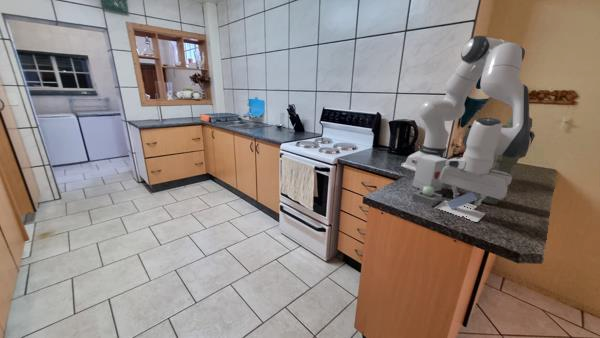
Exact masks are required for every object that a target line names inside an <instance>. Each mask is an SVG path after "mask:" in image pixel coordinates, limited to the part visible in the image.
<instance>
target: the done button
mask: <svg viewBox="0 0 600 338" xmlns="http://www.w3.org/2000/svg"><path fill="white" fill-rule="evenodd" d="M433 193H435V192H434V188H433V187H430V186H424V187H423V192H422V195H424V196H427V197H430V198H432V197H433Z"/></svg>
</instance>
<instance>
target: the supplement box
mask: <svg viewBox="0 0 600 338" xmlns="http://www.w3.org/2000/svg"><path fill="white" fill-rule="evenodd" d="M447 160H449V159H448V158H441V157H438V156H434V155H425V156H419V157H418V162H417V167H416V171H414V172H415V173H414V178H413V183H412V187H413V186H414V187H413V188H416V189H418V188H419V190H421V189H423V187H424V186H430V187H433V188H434V193H436V192H438V191H442V188H443V184H444V183H442V182H440V175H441V172H442V170H443V168H444V167H445V166H447V165H446V161H447Z"/></svg>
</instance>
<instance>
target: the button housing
mask: <svg viewBox="0 0 600 338" xmlns="http://www.w3.org/2000/svg"><path fill="white" fill-rule="evenodd" d="M422 192H423V189H419V190H417V191H415V192H414V193H413V194H412V199H414V200H416V201H419V202H421V203H420V204H422V203H424V204H423V205H425V204H427V205H430V206H433V207H435V206H436V205H437V203H438V204H440V203H441V201H442V196H443V194H439V193H437V192H434V193H433V197H432V198H430V197H427V196H424V195H422ZM412 199H411V200H412ZM414 200H413V201H414ZM416 201H415V202H416ZM419 202H418V203H419ZM435 204H436V205H435ZM427 205H426V206H427ZM430 206H429V207H430Z"/></svg>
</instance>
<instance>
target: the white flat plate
mask: <svg viewBox="0 0 600 338" xmlns="http://www.w3.org/2000/svg"><path fill="white" fill-rule="evenodd" d="M448 201H449V200H443V201H442V202H439V203H438V205H437V204H436V205H435V206H434V209H436V208H438V209H440V210H439V211H441V210H443V211H442V212H444V211H446V212H449V213H452V214H454V215H453V216H455V215H457V216H460V217H462V216H464V217H465V218H467V219H470V220H471V221H474V222H477V223H478V222H480V221H481V219H482V218H483V217H485V215H486V213H483V212H481V211H479V210H476V209H474V210H473V209H470V208H467V207H464V206H459V207H457V208H454V209H451V208H450V206H449V205H448V203H447V202H448ZM438 209H437V210H438ZM446 212H445V213H446ZM449 213H448V214H449ZM452 214H451V215H452ZM457 216H456V217H457ZM466 216H467V217H466ZM460 217H459V218H460ZM471 221H470V222H471ZM474 222H473V223H474Z"/></svg>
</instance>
